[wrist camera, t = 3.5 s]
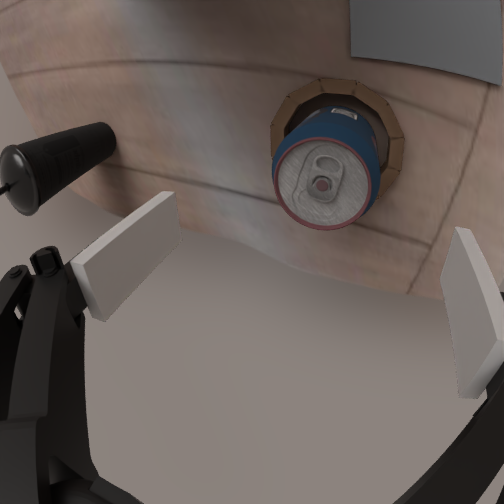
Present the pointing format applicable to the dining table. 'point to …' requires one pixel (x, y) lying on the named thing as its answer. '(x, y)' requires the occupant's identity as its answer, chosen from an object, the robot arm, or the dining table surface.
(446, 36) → the mat
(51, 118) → the dining table surface
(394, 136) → the holder ring
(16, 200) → the drinking cup
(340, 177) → the soda can
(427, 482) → the robot arm
